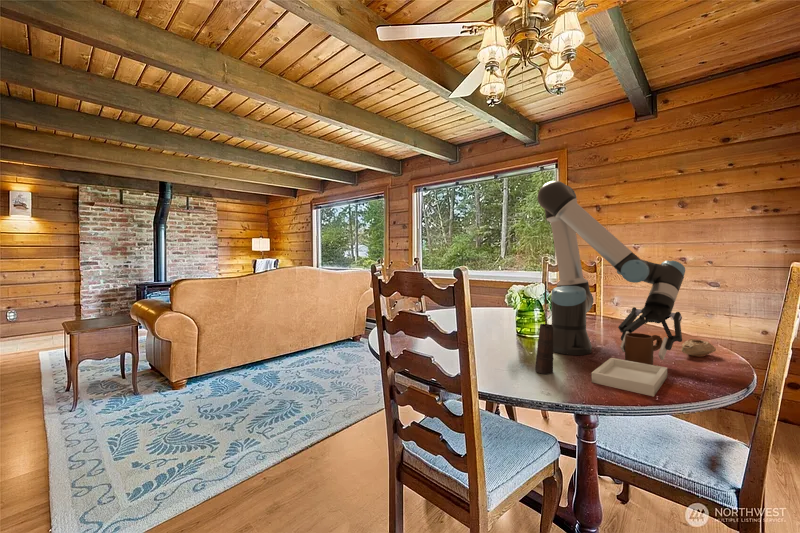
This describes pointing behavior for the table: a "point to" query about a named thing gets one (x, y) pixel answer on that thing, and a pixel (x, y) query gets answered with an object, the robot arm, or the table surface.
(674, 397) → the table surface
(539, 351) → the butter churn
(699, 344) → the pottery oil lamp
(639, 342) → the mug
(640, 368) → the tray
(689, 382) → the table surface
